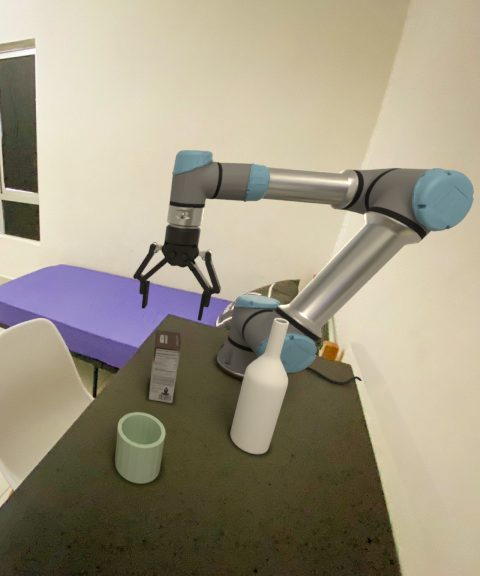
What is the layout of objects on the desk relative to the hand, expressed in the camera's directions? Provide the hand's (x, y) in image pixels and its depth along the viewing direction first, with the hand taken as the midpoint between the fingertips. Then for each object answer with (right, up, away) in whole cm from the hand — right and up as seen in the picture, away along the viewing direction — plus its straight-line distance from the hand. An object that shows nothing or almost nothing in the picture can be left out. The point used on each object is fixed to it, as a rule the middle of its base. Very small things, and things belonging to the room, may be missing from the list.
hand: (171, 312), depth 81 cm
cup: (-10, -30, -13) cm, 34 cm away
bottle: (+16, -29, -6) cm, 33 cm away
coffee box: (-1, -22, +8) cm, 24 cm away
